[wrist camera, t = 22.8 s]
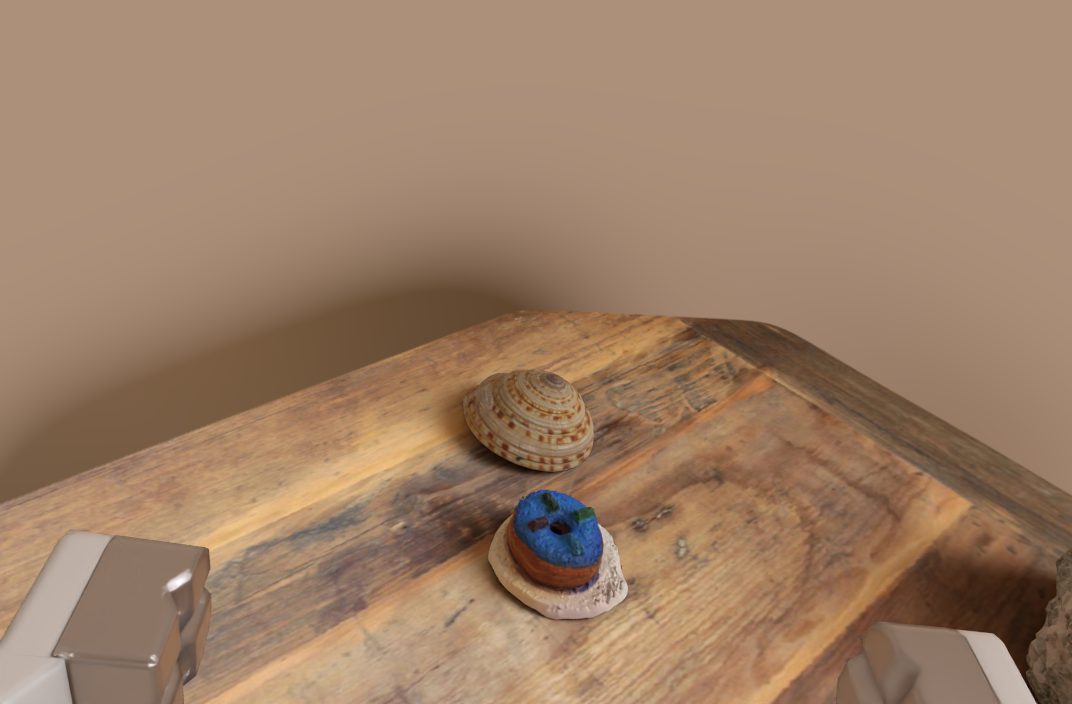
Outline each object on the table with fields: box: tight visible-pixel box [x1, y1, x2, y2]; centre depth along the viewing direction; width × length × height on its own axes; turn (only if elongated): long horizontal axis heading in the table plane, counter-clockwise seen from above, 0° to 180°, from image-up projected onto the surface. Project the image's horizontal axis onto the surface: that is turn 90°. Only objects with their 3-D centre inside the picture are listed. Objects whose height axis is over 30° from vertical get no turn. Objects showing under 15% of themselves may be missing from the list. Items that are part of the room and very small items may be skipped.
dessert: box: [488, 490, 628, 620], centre depth 48 cm, size 8×7×6 cm
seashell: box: [463, 369, 594, 472], centre depth 57 cm, size 8×6×8 cm
